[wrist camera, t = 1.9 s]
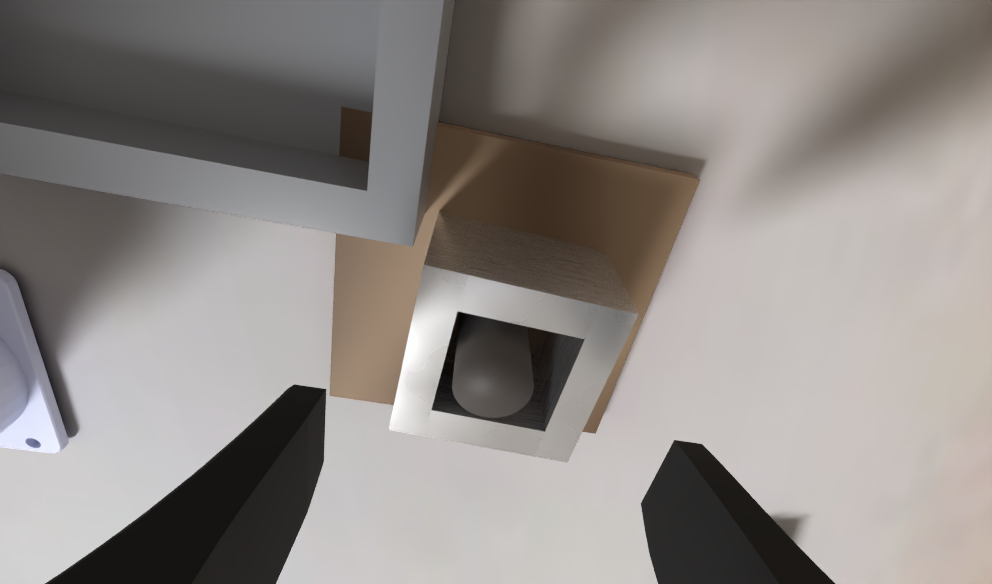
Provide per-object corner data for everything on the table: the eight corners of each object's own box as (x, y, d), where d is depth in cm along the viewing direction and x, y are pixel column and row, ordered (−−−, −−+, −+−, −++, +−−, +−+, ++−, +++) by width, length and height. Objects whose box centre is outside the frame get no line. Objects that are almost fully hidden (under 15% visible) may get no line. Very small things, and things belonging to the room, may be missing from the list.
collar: (408, 352, 16) (388, 429, 13) (438, 210, 14) (423, 264, 11) (552, 381, 17) (567, 462, 14) (606, 252, 14) (638, 314, 11)
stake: (334, 385, 18) (285, 496, 13) (347, 103, 13) (277, 138, 9) (592, 422, 19) (622, 536, 14) (692, 173, 14) (779, 236, 10)
